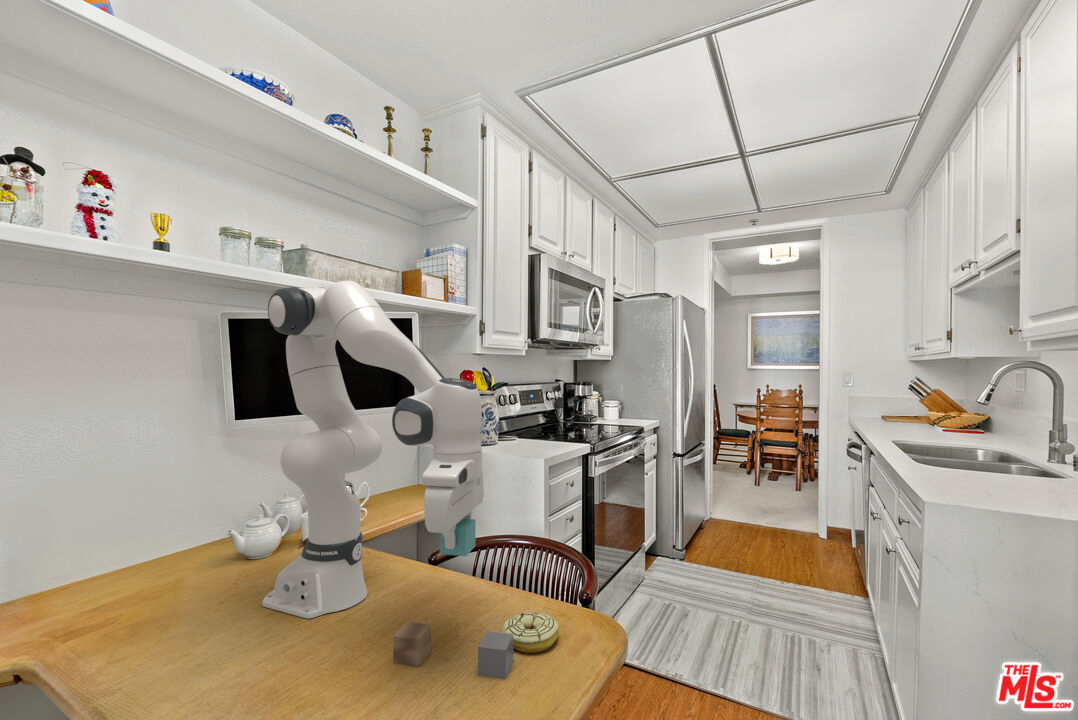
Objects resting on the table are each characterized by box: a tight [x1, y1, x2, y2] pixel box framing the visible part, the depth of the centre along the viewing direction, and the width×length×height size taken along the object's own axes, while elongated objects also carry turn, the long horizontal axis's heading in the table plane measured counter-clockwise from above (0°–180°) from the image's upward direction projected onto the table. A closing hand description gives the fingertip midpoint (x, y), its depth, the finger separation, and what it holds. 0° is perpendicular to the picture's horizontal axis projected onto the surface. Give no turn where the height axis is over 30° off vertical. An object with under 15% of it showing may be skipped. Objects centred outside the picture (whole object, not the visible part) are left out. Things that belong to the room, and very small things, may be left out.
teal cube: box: [439, 518, 476, 557], centre depth 89 cm, size 5×5×5 cm
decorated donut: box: [502, 611, 560, 654], centre depth 94 cm, size 10×11×4 cm
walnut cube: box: [392, 621, 432, 668], centre depth 89 cm, size 5×5×5 cm
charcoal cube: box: [477, 630, 514, 680], centre depth 85 cm, size 5×5×5 cm
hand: (457, 541), depth 89 cm, fingers closed on teal cube, 5 cm apart
